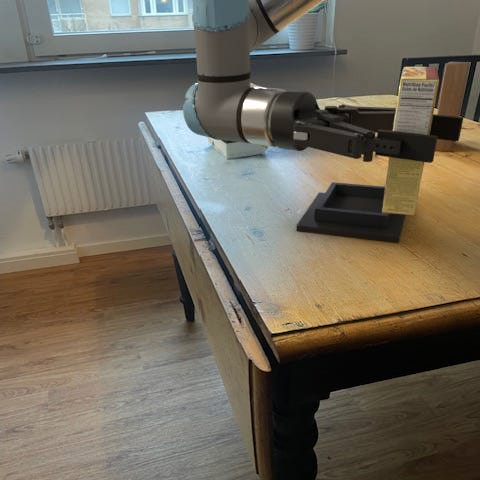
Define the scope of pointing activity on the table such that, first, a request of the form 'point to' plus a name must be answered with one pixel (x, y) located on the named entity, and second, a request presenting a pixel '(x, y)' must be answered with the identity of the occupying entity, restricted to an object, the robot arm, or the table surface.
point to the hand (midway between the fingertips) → (448, 138)
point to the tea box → (236, 146)
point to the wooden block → (452, 96)
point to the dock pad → (352, 214)
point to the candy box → (411, 121)
